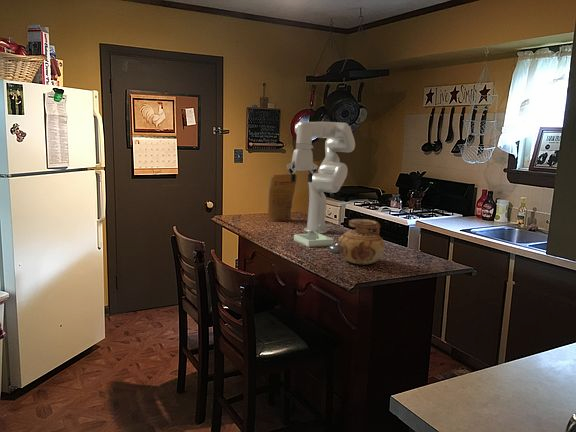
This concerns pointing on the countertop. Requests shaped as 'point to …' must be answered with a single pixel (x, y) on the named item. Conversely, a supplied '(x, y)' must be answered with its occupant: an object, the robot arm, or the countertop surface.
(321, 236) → the tray
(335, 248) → the pot lid
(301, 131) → the robot arm
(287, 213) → the pancake mix bag
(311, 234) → the lighter
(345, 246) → the clay pot
